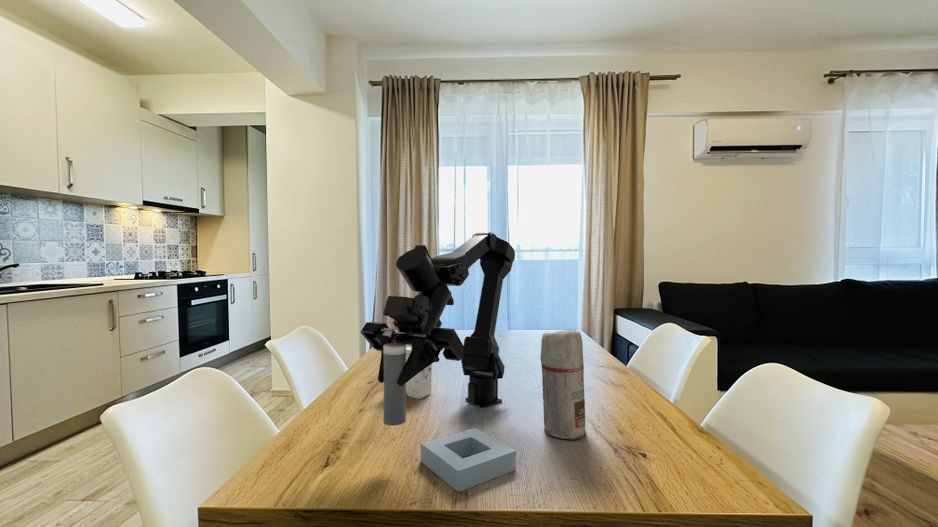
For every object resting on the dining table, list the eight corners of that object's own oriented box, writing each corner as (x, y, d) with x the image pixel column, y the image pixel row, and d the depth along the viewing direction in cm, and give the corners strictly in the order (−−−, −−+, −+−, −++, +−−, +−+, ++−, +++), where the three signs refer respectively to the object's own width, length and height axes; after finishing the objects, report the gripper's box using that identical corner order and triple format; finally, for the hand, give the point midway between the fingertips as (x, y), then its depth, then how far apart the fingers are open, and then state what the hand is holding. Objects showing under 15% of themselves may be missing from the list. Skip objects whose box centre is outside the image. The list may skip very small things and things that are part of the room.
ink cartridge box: (393, 393, 102) (393, 335, 102) (406, 388, 106) (406, 332, 106) (419, 399, 97) (420, 338, 98) (432, 394, 102) (432, 335, 102)
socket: (474, 444, 73) (474, 427, 73) (515, 469, 64) (515, 450, 64) (420, 461, 66) (420, 443, 66) (458, 492, 57) (458, 471, 57)
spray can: (560, 444, 73) (561, 334, 73) (533, 428, 80) (533, 327, 80) (595, 435, 77) (595, 330, 77) (566, 421, 84) (566, 325, 84)
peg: (399, 415, 69) (400, 342, 69) (409, 422, 66) (410, 345, 66) (379, 420, 67) (379, 344, 67) (388, 427, 64) (389, 348, 64)
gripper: (367, 277, 74) (320, 348, 65) (456, 279, 66) (416, 361, 56) (394, 316, 81) (355, 385, 71) (477, 322, 73) (445, 401, 63)
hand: (389, 383), depth 65 cm, fingers closed on peg, 4 cm apart
